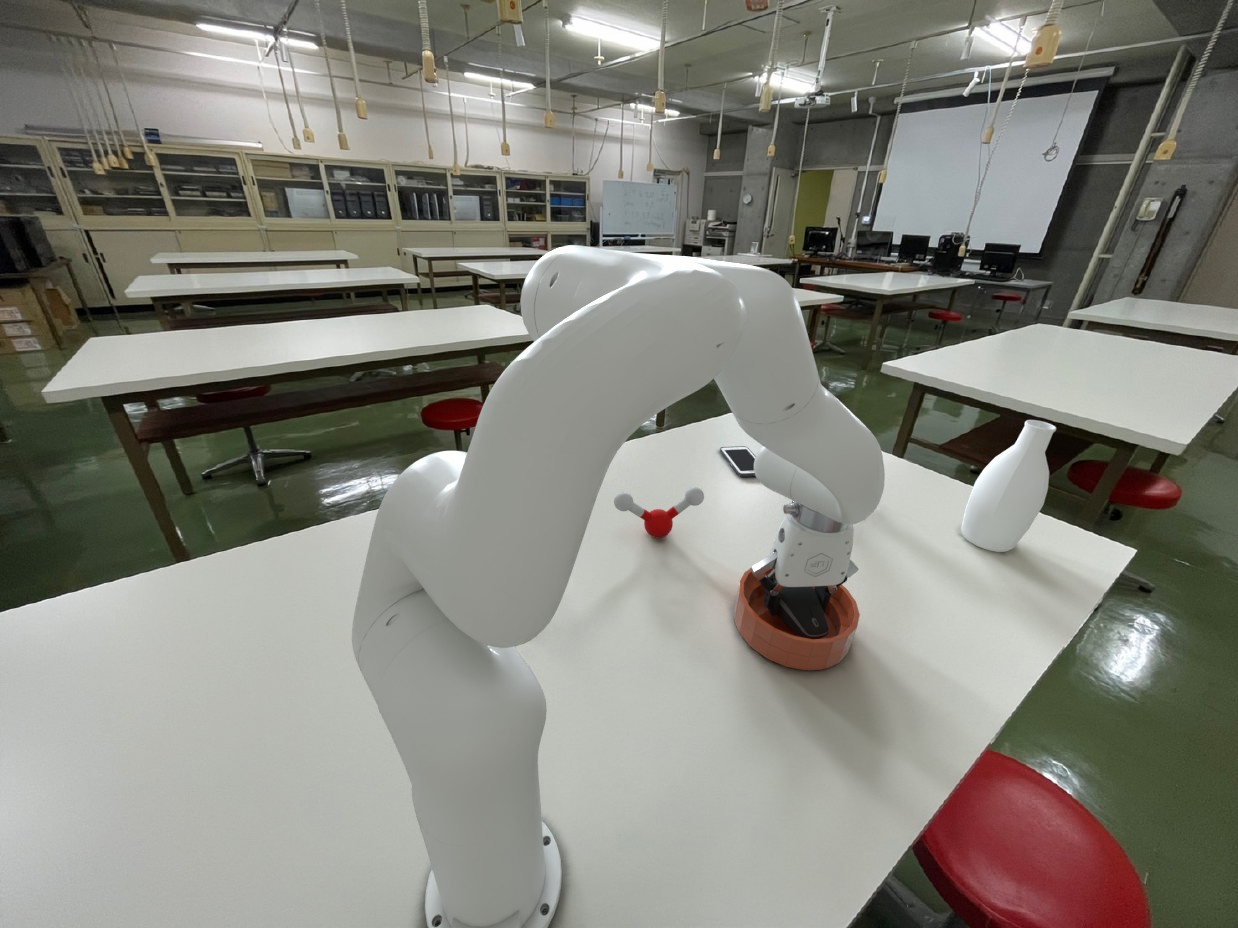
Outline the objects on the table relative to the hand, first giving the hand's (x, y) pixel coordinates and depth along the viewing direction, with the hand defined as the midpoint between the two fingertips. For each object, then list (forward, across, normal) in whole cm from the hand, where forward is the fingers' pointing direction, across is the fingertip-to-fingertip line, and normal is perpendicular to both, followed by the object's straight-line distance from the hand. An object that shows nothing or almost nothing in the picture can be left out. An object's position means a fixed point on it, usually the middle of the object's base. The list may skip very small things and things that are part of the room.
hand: (794, 607), depth 76 cm
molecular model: (+4, -17, +25) cm, 31 cm away
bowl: (+4, 0, 0) cm, 4 cm away
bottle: (+4, +50, +20) cm, 54 cm away
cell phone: (+4, +10, +54) cm, 55 cm away
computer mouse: (+1, 0, 0) cm, 1 cm away
